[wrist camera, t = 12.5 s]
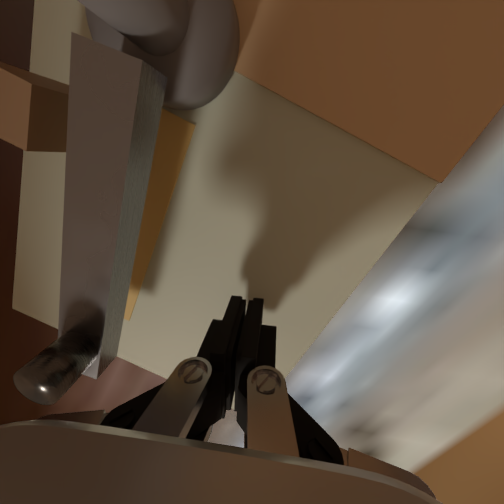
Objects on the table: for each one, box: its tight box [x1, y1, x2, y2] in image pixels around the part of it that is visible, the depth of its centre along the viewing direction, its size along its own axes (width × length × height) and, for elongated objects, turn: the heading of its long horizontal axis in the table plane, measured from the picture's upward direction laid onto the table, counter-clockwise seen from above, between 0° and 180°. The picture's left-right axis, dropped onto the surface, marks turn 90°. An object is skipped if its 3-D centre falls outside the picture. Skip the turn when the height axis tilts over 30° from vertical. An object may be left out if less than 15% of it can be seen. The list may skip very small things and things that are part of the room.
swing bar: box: [13, 32, 167, 405], centre depth 9 cm, size 13×2×4 cm, turn 160°
